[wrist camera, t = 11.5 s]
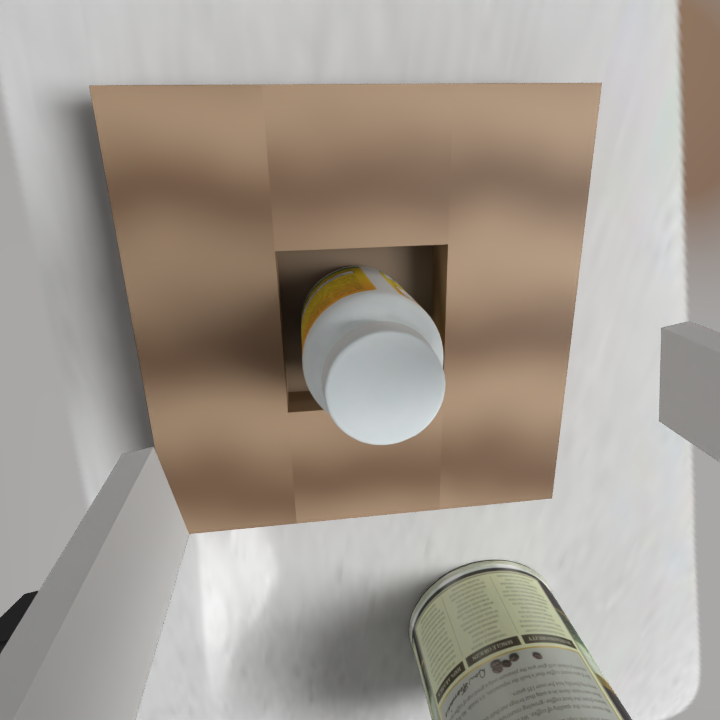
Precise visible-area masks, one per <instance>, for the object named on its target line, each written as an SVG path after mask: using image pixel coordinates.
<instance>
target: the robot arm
mask: <svg viewBox="0 0 720 720" xmlns="http://www.w3.org/2000/svg"><path fill="white" fill-rule="evenodd" d="M659 421H660V422H661V423H663V424H664V425H666V426H667V427H668V428H670V429H671V430H673V431H674V432H676V433H677V434H679V435H680V436H682V437H683V438H685V439H686V440H688V441H689V442H690V443H692V444H693V445H695V446H696V447H698V448H699V449H701V450H702V451H704V452H705V453H707V454H708V455H709V456H711V457H712V458H714V459H715V460H717V461H718V462H720V333H719V332H717V331H714V330H712V329H709V328H706V327H704V326H701V325H699V324H696V323H693V322H691V321H688V322H684V323H679V324H675V325H671V326H667V327H662V328H661V361H660V402H659ZM188 538H189V533H188V530H187V528H186V526H185V523H184V521H183V518H182V516H181V513H180V511H179V508H178V506H177V503H176V501H175V498H174V496H173V493H172V491H171V488H170V486H169V484H168V481H167V479H166V476H165V474H164V471H163V469H162V466H161V464H160V461H159V459H158V456H157V454H156V451H155V449H154V447H150V448H146V449H141V450H137V451H133V452H129V453H124V454H122V456H121V457H120V459H119V461H118V462H117V464H116V465H115V467H114V469H113V470H112V472H111V474H110V475H109V477H108V479H107V480H106V482H105V483H104V485H103V487H102V488H101V490H100V492H99V493H98V495H97V497H96V498H95V500H94V501H93V503H92V505H91V506H90V508H89V510H88V511H87V513H86V515H85V516H84V518H83V519H82V521H81V523H80V525H79V526H78V528H77V529H76V531H75V533H74V534H73V536H72V538H71V539H70V541H69V542H68V544H67V546H66V547H65V549H64V551H63V552H62V554H61V556H60V557H59V559H58V560H57V562H56V564H55V565H54V567H53V569H52V570H51V572H50V574H49V575H48V577H47V578H46V580H45V582H44V583H43V585H42V587H41V588H40V590H39V591H35V592H31V593H27V594H24V595H23V596H22V597H21V598H20V599H19V600H18V601H17V602H16V603H15V604H14V605H13V606H12V607H11V608H10V609H9V610H8V611H7V612H6V613H5V614H4V615H3V616H2V617H0V720H136V717H137V713H138V710H139V706H140V703H141V699H142V696H143V693H144V689H145V686H146V682H147V679H148V675H149V672H150V668H151V665H152V662H153V658H154V655H155V651H156V648H157V644H158V641H159V637H160V634H161V631H162V627H163V624H164V620H165V617H166V613H167V610H168V607H169V603H170V600H171V596H172V593H173V589H174V586H175V582H176V579H177V576H178V572H179V569H180V565H181V562H182V558H183V555H184V551H185V548H186V545H187V541H188Z"/></svg>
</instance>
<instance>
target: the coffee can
mask: <svg viewBox="0 0 720 720" xmlns="http://www.w3.org/2000/svg"><path fill="white" fill-rule="evenodd" d="M409 637H410V638H409V639H410V642H411V646H412V648H413V651H414V653H415V656H416V660H417V664H418V668H419V672H420V676H421V679H422V683H423V687H424V691H425V695H426V699H427V703H428V707H429V710H430V714H431V718H432V720H632V719H631V717H630V716H629V714H628V713H627V711H626V710H625V708H624V707H623V705H622V704H621V702H620V700H619V699H618V697H617V696H616V694H615V693H614V691H613V690H612V688H611V686H610V685H609V683H608V682H607V680H606V679H605V677H604V675H603V674H602V672H601V671H600V669H599V667H598V666H597V664H596V663H595V661H594V659H593V658H592V656H591V655H590V653H589V651H588V650H587V648H586V647H585V645H584V643H583V642H582V640H581V639H580V637H579V636H578V634H577V632H576V631H575V629H574V628H573V626H572V624H571V623H570V621H569V619H568V618H567V616H566V615H565V613H564V612H563V610H562V609H561V607H560V605H559V604H558V602H557V600H556V599H555V598H554V596H553V594H552V592H551V590H550V588H549V586H548V585H547V583H546V582H545V580H544V579H543V578H542V577H541V576H540V575H539V574H537V573H536V572H535V571H533V570H532V569H530V568H529V567H526V566H524V565H521V564H518V563H514V562H510V561H499V560H493V561H482V562H476V563H472V564H469V565H467V566H464V567H461V568H458V569H456V570H454V571H452V572H450V573H448V574H447V575H445V576H444V577H442V578H441V579H439V580H438V581H437V582H436V583H434V584H433V585H432V586H431V587H430V588H429V589H428V590H427V591H426V592H425V593H424V594H423V596H422V597H421V599H420V601H419V602H418V604H417V605H416V607H415V609H414V611H413V613H412V617H411V620H410V626H409Z"/></svg>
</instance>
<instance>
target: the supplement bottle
mask: <svg viewBox="0 0 720 720" xmlns="http://www.w3.org/2000/svg"><path fill="white" fill-rule="evenodd" d="M301 338H302V366H303V373H304V377H305V381H306V384H307V386H308V389H309V391H310V392H311V394H312V396H313V398H314V399H315V400H316V402H317V403H318V404H319V405H320V406H321V407H322V408H323V409H324V410H325V411H326V412H327V413H329V414H330V416H331V418H332V419H333V421H334V422H335V424H336V425H337V426H338V427H339V428H340V429H341V430H342V431H343V432H344V433H345V434H347V435H349V436H350V437H352V438H354V439H356V440H358V441H361V442H363V443H368V444H373V445H389V444H395V443H399V442H402V441H405V440H407V439H409V438H411V437H413V436H415V435H417V434H418V433H420V432H421V431H422V430H424V429H425V428H426V427H427V426H428V425H429V424H430V423H431V421H432V420H433V419H434V417H435V416H436V414H437V412H438V411H439V409H440V407H441V404H442V402H443V398H444V394H445V374H444V370H443V346H442V341H441V337H440V334H439V332H438V329H437V327H436V325H435V323H434V322H433V320H432V319H431V317H430V316H429V315H428V314H427V312H426V311H425V310H424V309H423V308H422V307H421V306H420V305H419V304H418V303H417V302H416V301H415V300H414V299H413V298H412V297H411V296H410V295H409V294H408V293H407V292H406V291H405V290H404V289H403V288H402V287H401V286H400V285H399V284H398V283H397V282H395V281H394V280H393V279H392V278H391V277H389V276H388V275H386V274H385V273H383V272H381V271H379V270H377V269H374V268H371V267H366V266H348V267H343V268H341V269H338V270H335V271H333V272H331V273H330V274H328V275H326V276H325V277H323V278H322V279H321V280H320V281H318V282H317V283H316V284H315V285H314V287H313V288H312V289H311V290H310V292H309V294H308V295H307V297H306V300H305V302H304V305H303V309H302V315H301Z"/></svg>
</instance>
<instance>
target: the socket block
mask: <svg viewBox="0 0 720 720" xmlns="http://www.w3.org/2000/svg"><path fill="white" fill-rule="evenodd" d="M601 86H602V83H476V84H291V85H106V86H89V88H90V93H91V99H92V104H93V110H94V115H95V121H96V126H97V132H98V137H99V143H100V148H101V154H102V159H103V165H104V170H105V176H106V181H107V187H108V192H109V198H110V203H111V209H112V214H113V220H114V225H115V231H116V236H117V242H118V247H119V253H120V258H121V264H122V269H123V275H124V280H125V286H126V291H127V297H128V303H129V308H130V314H131V319H132V325H133V330H134V336H135V341H136V347H137V352H138V358H139V363H140V369H141V374H142V380H143V385H144V391H145V396H146V402H147V407H148V413H149V418H150V424H151V429H152V435H153V440H154V446H155V451H156V454H157V456H158V459H159V461H160V464H161V466H162V469H163V471H164V474H165V476H166V479H167V481H168V484H169V486H170V488H171V491H172V493H173V496H174V498H175V501H176V503H177V506H178V508H179V511H180V513H181V516H182V518H183V521H184V523H185V526H186V528H187V530H188V533H189V534H193V533H204V532H214V531H224V530H234V529H244V528H255V527H265V526H275V525H285V524H295V523H306V522H316V521H326V520H336V519H346V518H357V517H367V516H377V515H387V514H397V513H407V512H418V511H428V510H438V509H448V508H458V507H469V506H479V505H489V504H499V503H509V502H520V501H530V500H540V499H550V498H552V493H553V485H554V477H555V468H556V460H557V452H558V443H559V435H560V427H561V418H562V410H563V402H564V393H565V385H566V377H567V368H568V360H569V352H570V344H571V335H572V327H573V319H574V310H575V302H576V294H577V285H578V277H579V269H580V260H581V252H582V244H583V236H584V227H585V219H586V211H587V202H588V194H589V186H590V177H591V169H592V161H593V152H594V144H595V136H596V128H597V119H598V111H599V103H600V94H601ZM348 266H366V267H371V268H374V269H377V270H379V271H381V272H383V273H385V274H386V275H388V276H389V277H391V278H392V279H393V280H394V281H395V282H397V283H398V284H399V285H400V286H401V287H402V288H403V289H404V290H405V291H406V292H407V293H408V294H409V295H410V296H411V297H412V298H413V299H414V300H415V301H416V302H417V303H418V304H419V305H420V306H421V307H422V308H423V309H424V310H425V311H426V312H427V314H428V315H429V316H430V317H431V319H432V320H433V322H434V323H435V325H436V327H437V329H438V332H439V334H440V337H441V341H442V346H443V370H444V374H445V394H444V398H443V402H442V404H441V407H440V409H439V411H438V412H437V414H436V416H435V417H434V419H433V420H432V421H431V423H430V424H429V425H428V426H427V427H426V428H425V429H424V430H422V431H421V432H420V433H418V434H417V435H415V436H413V437H411V438H409V439H407V440H405V441H402V442H399V443H395V444H389V445H373V444H368V443H363V442H361V441H358V440H356V439H354V438H352V437H350V436H349V435H347V434H345V433H344V432H343V431H342V430H341V429H340V428H339V427H338V426H337V425H336V424H335V422H334V421H333V419H332V418H331V416H330V414H329V413H327V412H326V411H325V410H324V409H323V408H322V407H321V406H320V405H319V404H318V403H317V402H316V400H315V399H314V398H313V396H312V394H311V392H310V391H309V389H308V386H307V384H306V381H305V377H304V373H303V366H302V338H301V315H302V309H303V305H304V302H305V300H306V297H307V295H308V294H309V292H310V290H311V289H312V288H313V287H314V285H315V284H316V283H317V282H318V281H320V280H321V279H322V278H323V277H325V276H326V275H328V274H330V273H331V272H333V271H335V270H338V269H341V268H343V267H348Z"/></svg>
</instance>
